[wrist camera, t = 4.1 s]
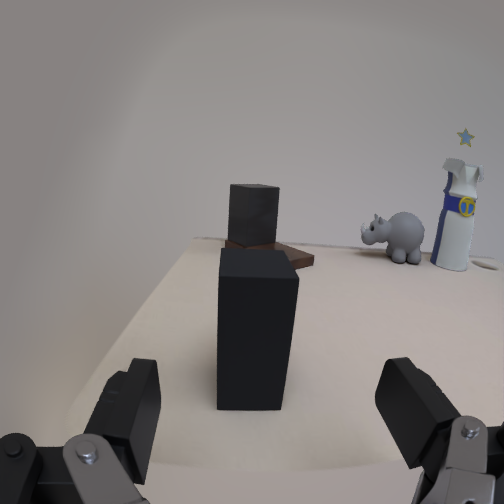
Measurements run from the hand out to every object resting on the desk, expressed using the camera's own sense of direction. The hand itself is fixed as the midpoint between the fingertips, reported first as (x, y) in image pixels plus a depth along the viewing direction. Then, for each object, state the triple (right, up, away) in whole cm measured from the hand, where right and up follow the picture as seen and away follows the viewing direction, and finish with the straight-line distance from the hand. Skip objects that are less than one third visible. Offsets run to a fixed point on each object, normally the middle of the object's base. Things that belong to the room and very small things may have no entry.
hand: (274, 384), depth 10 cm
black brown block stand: (+2, +4, +40) cm, 40 cm away
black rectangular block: (-1, -5, +10) cm, 12 cm away
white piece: (+36, +2, +42) cm, 55 cm away
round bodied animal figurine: (+23, +3, +43) cm, 49 cm away
